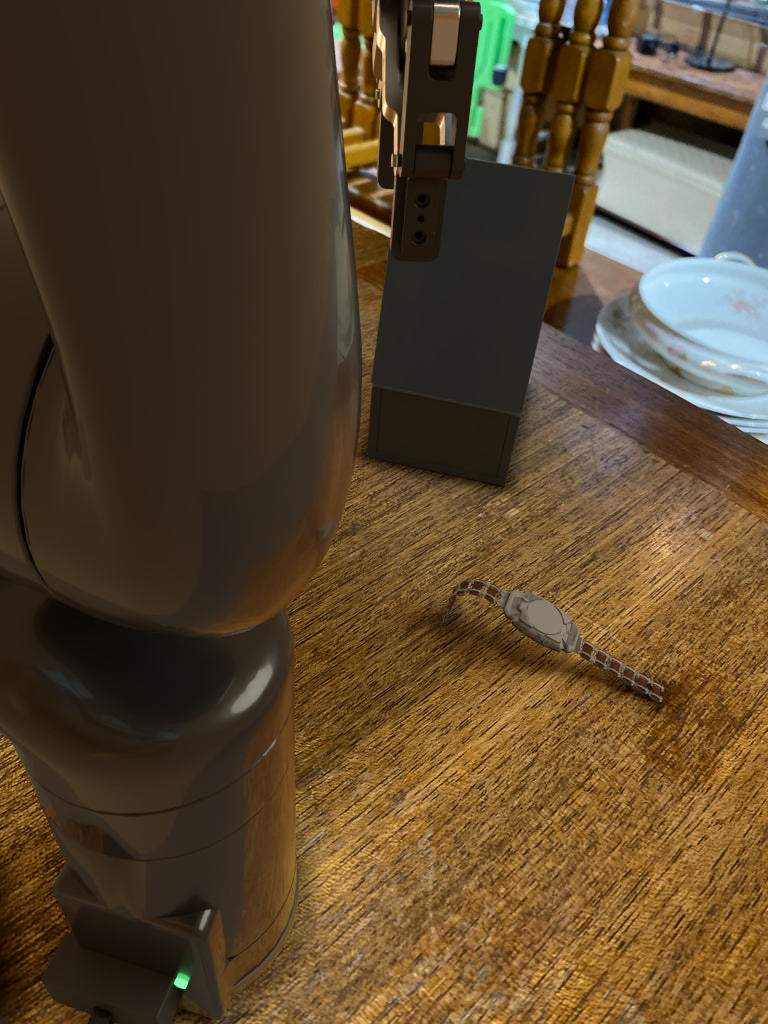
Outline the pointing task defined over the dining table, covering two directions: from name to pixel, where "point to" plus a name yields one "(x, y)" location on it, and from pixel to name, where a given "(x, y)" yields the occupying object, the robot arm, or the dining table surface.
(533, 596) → the wristwatch
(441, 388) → the lid
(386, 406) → the chest
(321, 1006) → the dining table surface
